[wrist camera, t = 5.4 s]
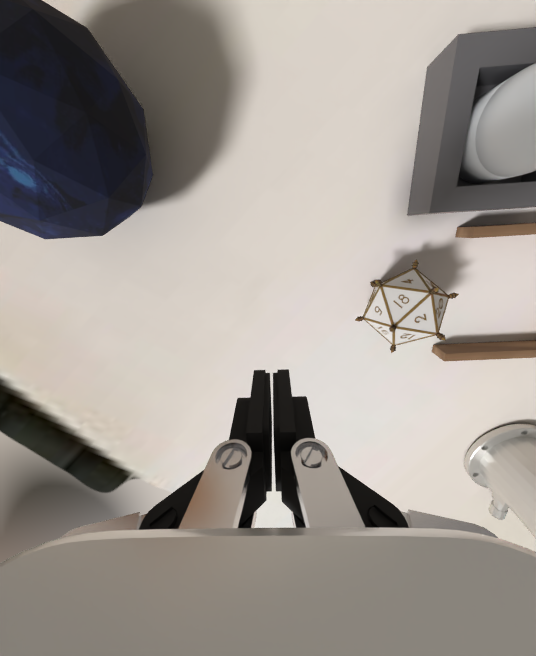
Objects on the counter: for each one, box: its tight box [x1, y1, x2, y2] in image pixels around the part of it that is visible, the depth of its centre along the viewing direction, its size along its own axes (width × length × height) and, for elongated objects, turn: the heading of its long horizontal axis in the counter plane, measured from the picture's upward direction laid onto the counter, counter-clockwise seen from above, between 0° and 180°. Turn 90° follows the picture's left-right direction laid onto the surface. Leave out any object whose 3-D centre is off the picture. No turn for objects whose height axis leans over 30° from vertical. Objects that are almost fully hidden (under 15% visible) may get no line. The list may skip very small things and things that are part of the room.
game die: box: [356, 259, 459, 353], centre depth 26 cm, size 9×8×10 cm
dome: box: [459, 63, 536, 184], centre depth 20 cm, size 7×7×7 cm
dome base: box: [407, 27, 536, 215], centre depth 22 cm, size 12×12×4 cm
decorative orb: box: [0, 0, 153, 239], centre depth 19 cm, size 14×15×15 cm
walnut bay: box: [432, 222, 536, 361], centre depth 28 cm, size 15×14×2 cm
